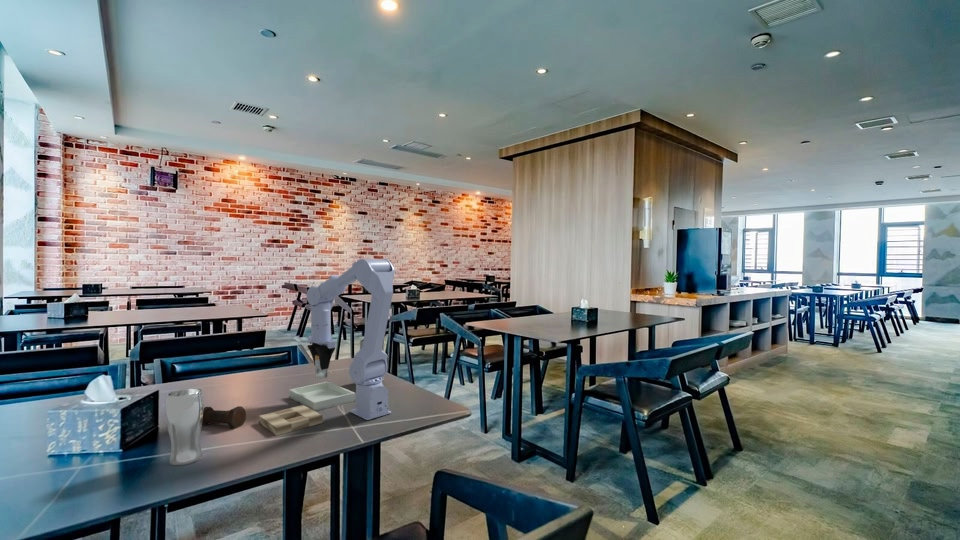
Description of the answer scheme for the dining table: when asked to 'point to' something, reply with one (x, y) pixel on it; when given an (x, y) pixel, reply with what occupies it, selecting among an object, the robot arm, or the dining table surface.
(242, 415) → the dark brown dumbbell
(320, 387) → the parts tray
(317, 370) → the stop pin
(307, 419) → the wooden square frame
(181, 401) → the beer glass
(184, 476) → the dining table surface
